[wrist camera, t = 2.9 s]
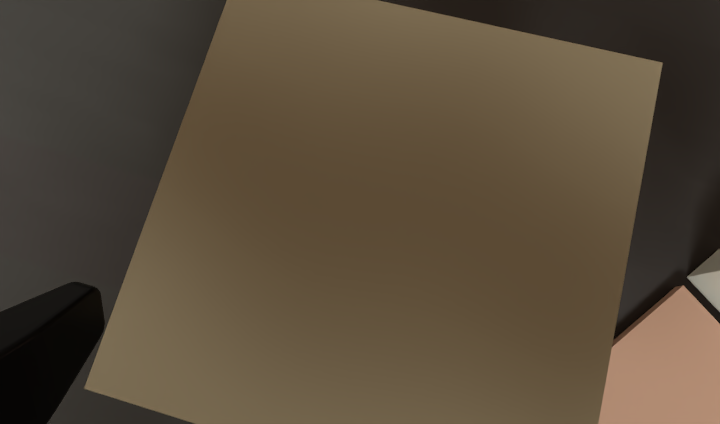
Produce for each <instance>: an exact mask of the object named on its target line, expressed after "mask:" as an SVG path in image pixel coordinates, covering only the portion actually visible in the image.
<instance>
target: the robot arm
mask: <svg viewBox="0 0 720 424" xmlns="http://www.w3.org/2000/svg"><path fill="white" fill-rule="evenodd" d="M104 324H105V320H104V314H103V307H102V300H101V294H100V291H99V290H98V289H97V288H96V287H93V286H90V285H87V284H83V283H80V282H71V283H68V284H66V285H63V286H61V287H58V288H56V289H54V290H51V291H49V292H47V293H44V294H42V295H39V296H37V297H35V298H32V299H30V300H28V301H25V302H23V303H20V304H18V305H16V306H13V307H11V308H9V309H6V310H4V311H1V312H0V424H47V422H48V421H49V419H50V418H51V417H52V415H53V414H54V412H55V411H56V409H57V407H58V406H59V404H60V403H61V401H62V399H63V398H64V396H65V395H66V393H67V391H68V390H69V388H70V386H71V385H72V383H73V381H74V380H75V378H76V376H77V375H78V373H79V372H80V370H81V368H82V367H83V365H84V363H85V362H86V360H87V358H88V357H89V355H90V354H91V352H92V350H93V349H94V347H95V345H96V344H97V342H98V340H99V339H100V337H101V335H102V333H103V330H104Z"/></svg>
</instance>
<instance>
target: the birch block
mask: <svg viewBox="0 0 720 424" xmlns="http://www.w3.org/2000/svg"><path fill="white" fill-rule="evenodd" d="M662 64H663V63H661V62H657V61H652V60H648V59H643V58H639V57H634V56H629V55H625V54H620V53H616V52H611V51H607V50H602V49H598V48H593V47H588V46H584V45H579V44H575V43H570V42H566V41H561V40H556V39H552V38H547V37H543V36H538V35H534V34H529V33H525V32H520V31H515V30H511V29H506V28H502V27H497V26H493V25H488V24H483V23H479V22H474V21H470V20H465V19H461V18H456V17H451V16H447V15H442V14H438V13H433V12H429V11H424V10H420V9H415V8H410V7H406V6H401V5H397V4H392V3H388V2H383V1H378V0H227V1H226V4H225V7H224V10H223V12H222V15H221V18H220V20H219V23H218V26H217V29H216V31H215V34H214V37H213V39H212V42H211V45H210V48H209V50H208V53H207V56H206V59H205V61H204V64H203V67H202V69H201V72H200V75H199V78H198V80H197V83H196V86H195V88H194V91H193V94H192V97H191V99H190V102H189V105H188V107H187V110H186V113H185V116H184V118H183V121H182V124H181V126H180V129H179V132H178V135H177V137H176V140H175V143H174V145H173V148H172V151H171V154H170V156H169V159H168V162H167V165H166V167H165V170H164V173H163V175H162V178H161V181H160V184H159V186H158V189H157V192H156V194H155V197H154V200H153V203H152V205H151V208H150V211H149V213H148V216H147V219H146V222H145V224H144V227H143V230H142V232H141V235H140V238H139V241H138V243H137V246H136V249H135V251H134V254H133V257H132V260H131V262H130V265H129V268H128V271H127V273H126V276H125V279H124V281H123V284H122V287H121V290H120V292H119V295H118V298H117V300H116V303H115V306H114V309H113V311H112V314H111V317H110V319H109V322H108V325H107V328H106V330H105V333H104V336H103V338H102V341H101V344H100V347H99V349H98V352H97V355H96V357H95V360H94V363H93V366H92V368H91V371H90V374H89V377H88V379H87V382H86V385H85V387H84V389H87V390H90V391H93V392H96V393H100V394H103V395H106V396H109V397H112V398H116V399H119V400H122V401H125V402H128V403H131V404H135V405H138V406H141V407H144V408H147V409H150V410H154V411H157V412H160V413H163V414H166V415H169V416H173V417H176V418H179V419H182V420H185V421H188V422H192V423H195V424H598V422H599V417H600V411H601V405H602V400H603V394H604V389H605V383H606V377H607V372H608V366H609V361H610V355H611V349H612V344H613V338H614V333H615V327H616V321H617V316H618V310H619V305H620V299H621V293H622V288H623V282H624V277H625V271H626V265H627V260H628V254H629V249H630V243H631V237H632V232H633V226H634V220H635V215H636V209H637V204H638V198H639V192H640V187H641V181H642V176H643V170H644V164H645V159H646V153H647V148H648V142H649V136H650V131H651V125H652V120H653V114H654V108H655V103H656V97H657V92H658V86H659V80H660V75H661V69H662Z"/></svg>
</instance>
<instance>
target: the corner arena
mask: <svg viewBox="0 0 720 424" xmlns="http://www.w3.org/2000/svg"><path fill="white" fill-rule="evenodd" d="M687 278H688V279H689V281H690V282H691V283H692V284H693V285H694V286H695V287H696V288H697V289H698V290H699V291H700V292H701V293H702V294H703V295H704V296H705V297H706V298H707V300H708V301H709V302H710V303H711V304H712V305H713V306H714V307H715V308H716V309H717V310H718V311H719V312H720V249H718V250H717V251H716V252H715V253H714V254H713V255H712V256H710V257H709V258H708V259H707V260H706V261H705V262H703V263H702V264H701V265H700V266H699V267H698V268H697V269H695V270H694V271H693V272H692V273H691V274H690V275H688V276H687ZM598 424H720V324H719V323H718V322H717V320H716V319H715V318H714V317H713V316H712V315H711V314H710V313H709V312H708V311H707V310H706V309H705V308H704V307H703V306H702V305H701V303H700V302H699V301H698V300H697V299H696V298H695V297H694V296H693V295H692V294H691V293H690V292H689V291H688V290H687V289H686V288H685V286H684V285H683V286H677V287H675V288H673V289H672V290H671V291H670V292H669V293H668V294H666V295H665V296H664V297H663V298H662V299H661V300H660V301H658V302H657V303H656V304H655V305H654V306H653V307H651V308H650V309H649V310H648V311H647V312H646V313H644V314H643V315H642V316H641V317H640V318H639V319H638V320H636V321H635V322H634V323H633V324H632V325H631V326H629V327H628V328H627V329H626V330H625V331H624V332H623V333H621V334H620V335H619V336H618V337H617V338H616V339H614V340H613V344H612V349H611V355H610V361H609V366H608V372H607V377H606V383H605V389H604V394H603V400H602V405H601V411H600V417H599V422H598Z"/></svg>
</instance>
